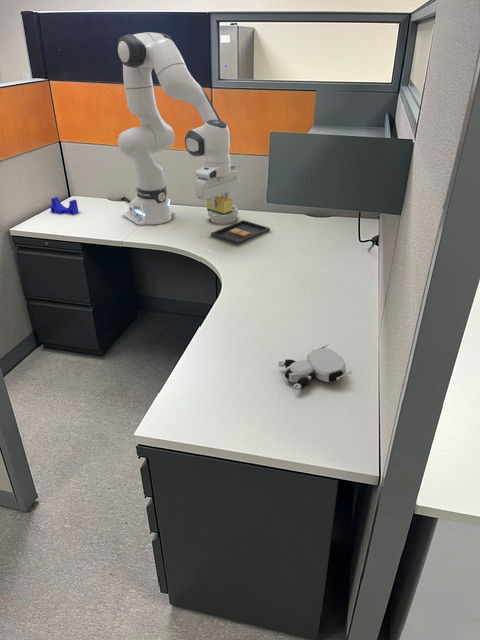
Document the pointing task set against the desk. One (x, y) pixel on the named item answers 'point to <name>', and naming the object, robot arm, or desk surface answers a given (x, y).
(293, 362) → the robot toy
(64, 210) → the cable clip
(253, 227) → the tray
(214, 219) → the flag stand
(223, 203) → the sponge
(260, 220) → the desk surface
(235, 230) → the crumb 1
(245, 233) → the crumb
